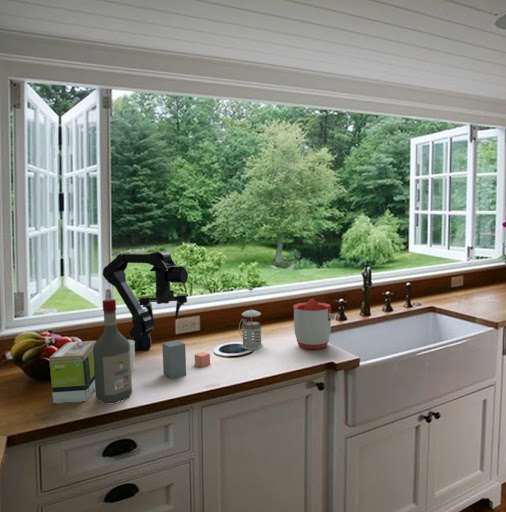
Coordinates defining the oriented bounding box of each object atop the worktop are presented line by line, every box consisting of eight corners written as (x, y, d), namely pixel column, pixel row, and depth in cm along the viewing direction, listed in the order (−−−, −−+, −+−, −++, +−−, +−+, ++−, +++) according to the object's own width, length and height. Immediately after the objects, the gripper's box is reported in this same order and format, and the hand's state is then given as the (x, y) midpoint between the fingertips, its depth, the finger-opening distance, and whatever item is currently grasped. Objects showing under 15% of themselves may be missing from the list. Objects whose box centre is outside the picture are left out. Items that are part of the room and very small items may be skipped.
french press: (268, 345, 176) (267, 286, 174) (249, 352, 167) (248, 290, 165) (251, 341, 183) (250, 284, 180) (232, 347, 174) (230, 288, 172)
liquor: (135, 395, 128) (131, 299, 125) (109, 406, 121) (103, 304, 118) (119, 388, 134) (114, 296, 131) (92, 398, 127) (86, 301, 124)
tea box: (69, 384, 138) (66, 341, 137) (100, 382, 139) (98, 339, 138) (51, 404, 123) (48, 355, 122) (86, 402, 124) (83, 354, 123)
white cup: (140, 367, 153) (139, 340, 153) (127, 374, 146) (125, 346, 145) (122, 365, 156) (120, 338, 155) (108, 372, 149) (107, 345, 148)
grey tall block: (163, 374, 146) (162, 343, 145) (178, 370, 149) (177, 340, 148) (171, 378, 141) (169, 347, 140) (186, 374, 145) (185, 343, 144)
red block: (194, 364, 155) (194, 354, 154) (202, 361, 158) (202, 351, 157) (202, 367, 152) (201, 356, 152) (210, 364, 155) (209, 353, 155)
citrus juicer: (333, 353, 163) (332, 303, 162) (290, 350, 169) (289, 301, 167) (338, 342, 178) (337, 295, 176) (298, 339, 184) (297, 294, 182)
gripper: (136, 286, 159) (139, 326, 160) (186, 284, 162) (188, 323, 164) (139, 282, 170) (141, 320, 171) (186, 280, 173) (187, 317, 174)
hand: (164, 320), depth 170 cm, fingers open, 9 cm apart
